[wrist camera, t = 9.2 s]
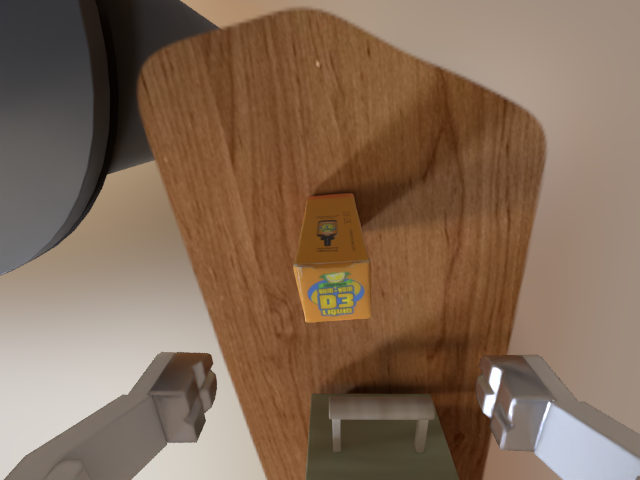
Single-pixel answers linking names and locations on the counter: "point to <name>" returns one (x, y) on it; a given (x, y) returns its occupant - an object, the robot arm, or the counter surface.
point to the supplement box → (333, 261)
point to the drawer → (376, 438)
